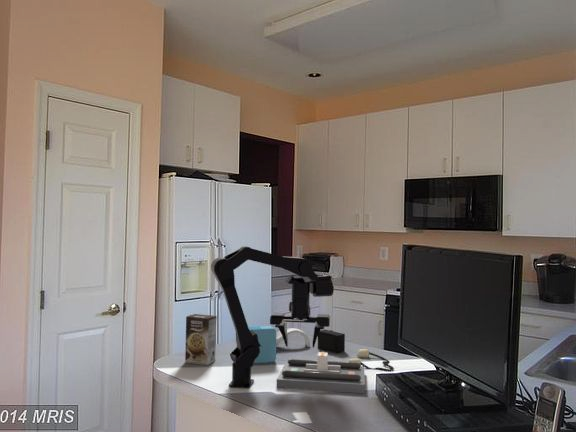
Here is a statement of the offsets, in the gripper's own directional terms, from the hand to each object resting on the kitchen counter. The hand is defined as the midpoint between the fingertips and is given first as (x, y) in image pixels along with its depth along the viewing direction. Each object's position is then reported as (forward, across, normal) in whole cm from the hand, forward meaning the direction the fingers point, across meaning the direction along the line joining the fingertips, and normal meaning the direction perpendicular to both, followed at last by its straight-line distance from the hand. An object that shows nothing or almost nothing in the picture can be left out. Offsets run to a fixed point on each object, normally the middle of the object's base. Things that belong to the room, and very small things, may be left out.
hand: (300, 346), depth 147 cm
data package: (+10, +17, -16) cm, 25 cm away
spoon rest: (+11, +12, -37) cm, 40 cm away
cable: (+11, -24, -21) cm, 34 cm away
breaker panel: (+10, -7, 0) cm, 12 cm away
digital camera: (+10, -9, -36) cm, 39 cm away
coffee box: (+10, +37, -12) cm, 40 cm away
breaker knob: (+7, -7, 0) cm, 10 cm away
